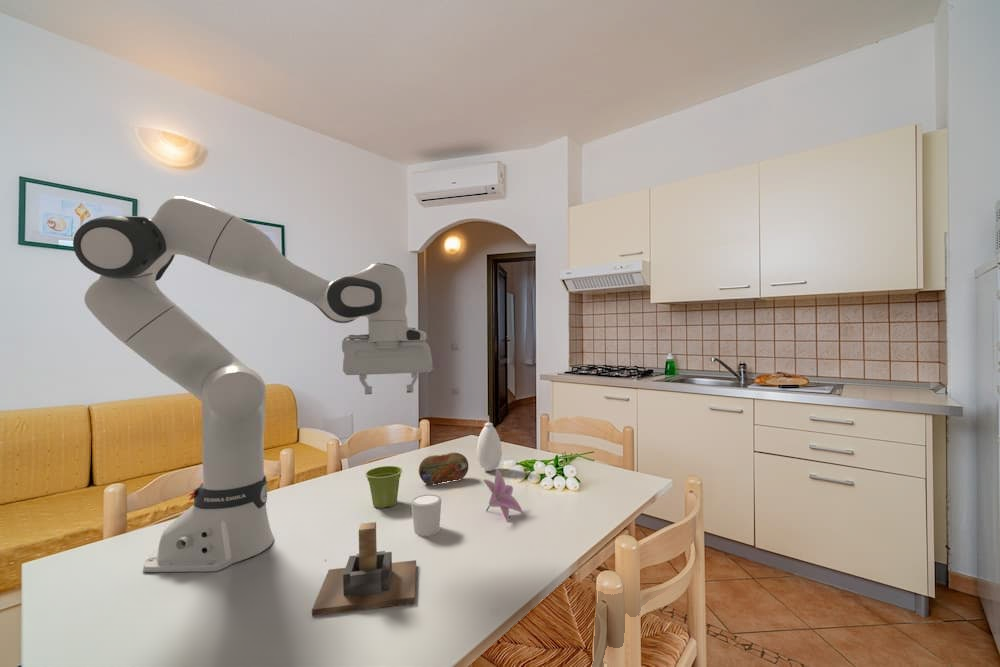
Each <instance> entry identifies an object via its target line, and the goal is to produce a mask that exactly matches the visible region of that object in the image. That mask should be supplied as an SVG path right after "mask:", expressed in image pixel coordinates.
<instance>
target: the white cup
mask: <svg viewBox="0 0 1000 667" xmlns="http://www.w3.org/2000/svg"><path fill="white" fill-rule="evenodd" d="M410 504H411V505H410V506H411V512H412V513H411V514H412V524H413V530H414V534H415V535H417V536H421V537H423V536H424V537H427V536H432V535H435V534H437V533H438V532H439V531H440V526H441V524H440V523H441V514H442V512H441V510H442V509H441V508H442V497H441V496H440V495H437V494H430V493H427V494H422V495H421V494H420V495H417V496H415V497H413V498H411V501H410Z"/></svg>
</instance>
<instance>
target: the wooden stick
mask: <svg viewBox="0 0 1000 667" xmlns="http://www.w3.org/2000/svg"><path fill="white" fill-rule="evenodd" d="M377 548H378V547H377V522H376V521H373V522H371V521H370V522H362V523H360V526H359V528H358V554H359V569H360V571H364V570H374V569H377V552H378V551H377V550H378V549H377Z"/></svg>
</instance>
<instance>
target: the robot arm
mask: <svg viewBox="0 0 1000 667" xmlns="http://www.w3.org/2000/svg"><path fill="white" fill-rule="evenodd" d="M72 247H73V252H74V253H75V256H76V257H77V259H78V260H79V261H80V263H81V264H82V265H83V266H84V267H85V268H86V269H88V270H89V271H91V272H94V273H95V274H97V275H100V277H99V278H98V279H97V280H95V281H94V282H92V284H91V285H90V286H89V287H88V289H87V290H86V292H85V294H84V304H85V306H86V307H87V309H88V310H89V311H90V312H91V313H92V315H93V316H94V317H95V319H97V320H98V321H99V322H100V323H101V325H103V327H104V328H106V329H107V330H108V331H109V333H111V334H112V335H113V336H114V337H115V338H117V339H118V340H119V341H120V342H122V344H124V345H125V346H127V347H128V348H129V349H131V350H132V351H133V353H136V354H137V355H138V356H139V357H141V358H142V359H143V360H145V361H146V362H147V363H148V364H149V365H150V366H152V367H153V368H155V369H156V370H157V371H158V372H160V373H161V374H162V375H164V376H166V377H168V378H169V379H171V381H173V382H174V383H176V384H178V385H179V386H180V387H181V388H183V389H184V390H185V391H187V392H188V393H190V394H191V395H192V396H194V397H195V398H197V399H198V400H199V401H201V423H202V424H201V427H202V428H201V429H202V431H201V434H202V436H201V437H202V438H201V444H202V445H201V446H202V447H201V448H202V449H201V450H202V454H201V455H202V483H200V486H198V487H197V488H196V489H194V490H193V491H192V492H191V493H190V494H189V499H188V500H189V501H191V500H194V501H193V502H194V503H193V505H191V506H190V507H189V508H188V509H186V510H185V511H184V512H183V513H182V514H180V516H178V517H177V518H175V519H174V520H173V521H172V522H171V523H170V524H168V526H167V527H166V528H165V529H164V530H163V532H162V534H161V536H160V539H159V543H158V548H157V549H156V550H155V551H153V552H152V553H151V554H149V556H148V557H147V558H146V560H145V561H144V563H143V572H144V573H145V572H149V573H157V572H158V573H160V572H162V573H163V572H165V573H167V572H172V573H173V572H174V573H175V572H178V573H179V572H180V573H181V572H184V573H186V572H217V571H221V570H223V569H225V568H227V567H229V566H231V565H233V564H235V563H238V562H241V561H244V560H246V559H249V558H251V557H254V556H256V555H258V554H260V553H262V552H263V551H266V549H268V548H269V547H270V546H271V545H272V544H273V543H274V541H275V537H274V534H273V532H272V529H271V525H270V521H269V516H268V512H267V500H268V485H267V476H266V475H265V466H264V463H265V461H264V460H265V459H264V456H265V455H264V454H265V453H264V435H265V434H264V433H265V425H266V424H265V422H266V401H267V400H266V399H267V398H266V394H267V392H266V391H267V390H266V384H265V381H264V379H263V377H262V376H261V375H260V373H258V372H256V371H255V370H253V369H252V368H250V367H248V366H247V365H246V364H244V363H243V362H242V361H241V360H240V359H239V358H237V357H236V356H235V355H234V354H233V353H232V352H231V351H230V350H229V349H227V347H225V346H224V345H223V344H222V343H220V341H218V339H216V338H215V337H214V336H213V335H212V334H211V333H210V332H208V330H207V329H205V328H204V327H202V325H201V324H199V323H198V322H197V321H196V320H195V319H193V318H192V317H191V315H189V314H187V312H185V311H184V310H183V309H182V308H181V307H180V306H179V305H177V304H176V303H175V302H174V301H172V300H171V299H170V298H169V297H168V296H167V295H166V294H165V293H163V292H162V291H161V289H160V288H159V287H158V285H157V283H156V282H157V281H160V279H161V278H162V277H163V276H164V274H165V272H166V271H167V269H168V268H169V266H170V265H171V264H172V262H173V261H174V258H175V255H181V256H185V257H188V258H190V259H191V258H192V259H194V260H196V261H199V262H201V263H203V264H205V265H207V266H209V267H212V268H214V269H217V270H219V271H223V272H225V273H228V274H231V275H234V276H236V277H237V276H238V277H241V278H244V279H249V280H252V281H257V282H260V283H264V284H268V285H271V286H273V287H276V288H279V289H282V290H284V291H286V292H288V293H290V294H292V295H294V296H297V297H299V298H301V299H302V300H305V301H307V302H308V303H311V304H313V305H314V306H315V307H317V308H318V310H320V312H322V314H323V315H324V316H325V317H326V318H327V319H329V320H330V321H332V322H335V323H339V324H348V323H351V322H354V321H355V320H357V319H358V318H361V317H364V318H365V317H366V318H367V321H368V323H367V324H368V330H367V331H368V333H367V334H349V335H348V336H346V337H344V338H343V340H342V341H341V350H342V353H343V361H342V372H343V373H344V374H345V376H358V377H359V382H360V383H361V385H362V386H363V387H364V395H372V394H373V386H372V385H369V384H368V382H367V381H366V380H367V379H368V376H369V375H391V374H392V375H393V374H394V375H395V374H410V375H411V378H412V379H411V380H412V381H411V382H410V384H406V393H409V394H413V393H414V385H415V383H416V381H417V379H418V375H419V374H420V373H423V374H425V373H426V374H427V373H430V372H432V370H433V369H434V368H433V357H432V351H431V347H430V345H429V344H428V343H427V342H426V340H427V333H426V332H425V331H423V330H420V329H416V328H415V327H409V326H408V318H407V315H406V314H407V313H406V307H407V303H408V300H407V299H408V298H407V297H408V296H407V284H406V278H405V274H404V272H403V270H401V269H400V268H399V267H397V266H395V265H392V264H388V263H385V262H384V263H380V262H376V263H371V264H370V265H369V266H368V267H366V268H365V269H363V270H360V271H358V272H356V273H353V274H349V275H345V276H340V277H339V278H336V279H335V280H334V281H333V280H328V279H325V278H323V277H320V276H318V275H316V274H315V273H312V272H310V271H308V270H306V269H305V268H302V267H300V266H298V265H297V264H295V263H293V262H292V261H290V260H289V259H288V258H286V257H285V256H284V255H283V254H282V252H280V250H279V249H278V248H277V246H276V245H275V243H274V242H273V240H272V239H271V237H269V235H268V234H266V233H265V232H263V231H262V230H260V229H259V228H257V227H256V226H254V225H253V224H251V223H250V222H248V221H245V220H244V219H242V218H241V217H238V216H236V215H234V214H232V213H230V212H227V211H225V210H223V209H220V208H218V207H216V206H213V205H211V204H208V203H205V202H202V201H198V200H195V199H193V198H188V197H184V196H174V197H171V198H169V199H167V200H165V202H162V204H161V205H160V206H159V208H158V209H157V211H156V213H155V214H154V215H153V216H152V217H151V218H147V217H146V216H141V215H133V216H132V215H105V216H100V217H96V218H92V219H91V220H88V221H87V222H85V223H84V224H82V225H80V226H79V228H78V229H77V230H76V231H75V234H74V236H73V242H72Z"/></svg>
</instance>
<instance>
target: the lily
mask: <svg viewBox="0 0 1000 667" xmlns="http://www.w3.org/2000/svg"><path fill="white" fill-rule="evenodd" d="M494 476H495V477H494V482H493V481H491V480H488V479H483V482H484V484H485V485H486V486H487V488H488V489H489V491H490V492H491V495H490V498H489V500H488V501H489V502H488V507H487V509H486V510H485V512H486V511H487V512H488V511H489V509H490V507H491V508H500V510H501V513H502V514H503V516H504V518H505V521H506V522H508V521H509V519H510V518H509V516H510V510H514V511H516V512H519V513H522V512H523V509H522V508H521V505H520V504H519V502H518V501H517V500H516V499H515V498H516V497H514V496H513V491H514V488H513V486H512V485H509V484H508V485H507V484H506V482H505V478H504V476H503V475H502V473H501V471H500V469H498V468H495V475H494ZM509 509H510V510H509ZM521 511H522V512H521ZM507 520H508V521H507Z"/></svg>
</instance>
